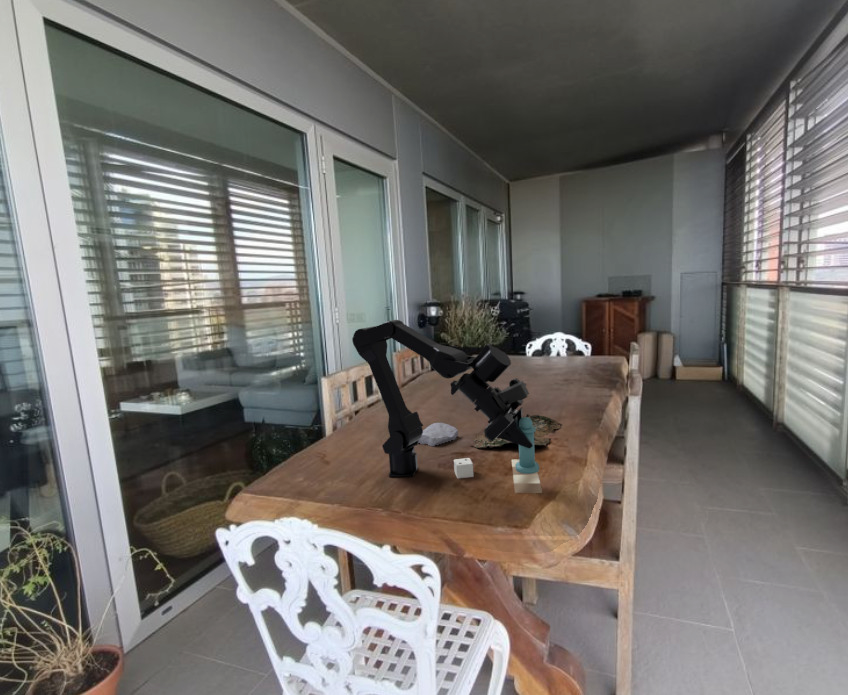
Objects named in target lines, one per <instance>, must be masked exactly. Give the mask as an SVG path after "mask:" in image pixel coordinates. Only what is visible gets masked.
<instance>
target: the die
mask: <svg viewBox="0 0 848 695" xmlns="http://www.w3.org/2000/svg"><path fill="white" fill-rule="evenodd" d="M453 468H454V474H455V476H456V478H457V479H466V478H474V464H473V461H472V460H471V458H470V457H465V458H457V459H456V458H454V459H453Z"/></svg>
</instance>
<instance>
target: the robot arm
mask: <svg viewBox="0 0 848 695" xmlns="http://www.w3.org/2000/svg"><path fill="white" fill-rule="evenodd" d="M391 339H393V340H394V341H395V342H397V343H398V344H400V345H402V346H404V347H406V348H407V349H409V350H410V351H412V352H413V353H415V354H417V355H418V356H421V357H422V358H424V359H425V360H426V361H427V362H428V363H429V365H430V366H431V368H432V369H433V370H434V371H435V372H436V373H438V375H440V376H441V377H442V378H444V379H452V378H455V377H458V376H460V375H461V376H460V378H458V380H452V381H451V382H450V394H451V395H452V396H453V395H455V394H456V393H457V392H458V391H460V392H461V393H462V394H463V395H464V396H465V397H466V398H467V400H469V401H470V402H471V403H472V404H473V405H474V406H475V407H474V410H475V411H476V412H477V413H478V412H479V411H480V412H481V413H482V414H483V415H484V416H485V417H486V418H487V419H488V421H487V423H488V424H487V425H486V427H485V428H484V433H483V434H485V437H486V438H487V439H488V440H489V441H490V442H492V441H493V440H494V439H495V438H498V439H499V438H501V439H504V440H507V441H510V442H513V443H512V444H516V445H518V446H519V445H521V446H524V447H526V448H529V449H530V448H531V447H532V446H533V444H532V443H531V442H530V440H529V439H528V438H527V436H526V435H525V434H524V433H523V431H522V430H521V429H520V428H519V421H520V419H521V418H523V417H524V416H523V411H524V410H523V409H524V408H523V407H520V408H519V406H522V405H523V403H524V400H525V399H526V398H528V395H529V394H530V392H529V390H528V388H527V383H525V382H524V381H523V380H519V379H518V378H513V379H511V380H510V381H509V383H508V384H509V385H508V386H507V387H506V388H504V389H500V388H499V387H496V386H494V388H493V387H492V386H491V384H490V383H494V382H495V381H497V379H498V378H499V377H500V376H501V375H502V374H503V373H504V372H505V371H506V370H507V369H508V368H509V367H511V364H512V361H511V359H510V357H509V356H508V354H507V353H506V352H504V351H502V350H500V349H499V348H497V347H494V346H493V345H492V344H491V343H488V344H485V345H484V346H483V347H482V349H481V351H480V352H479V353H478V354H477V355H476V356H471V355H468V354H467V353H466V352H464V351H463V350H460V349H458V348H454V347H453V346H447V345H443V344H440V343H437V342H436V341H435V340H434V341H433V340H432V339H430V338H428V337H427V336H425V335H424V334H422V333H421V332H418V331H417V330H415V329H413V328H411V327H410V326H408V325H407V324H405V323H404V322H403V321H401V320H399V319H393V320H388V321H385V322H383V323H382V324H379V325H375V326H369V327H364V328H359V329H357V330H355V332H354V333H353V335H352V338H351V340H352V344H353V346H354V348H355V350H356V352H357V353H358V355H359V356H360V358H361V359H363V360H364V361H365V362H366V363H367V364H368V366H369V368H370V371H371V373H372V376H373V378H374V380H375V384H376V387H377V390H378V391H379V393H380V396H381V399H382V402H383V404H384V406H385V409H386V411H387V414H388V421H387V422H388V423H387V429H388V430H387V431H388V434H389V438H388V439H387V440H386V441H385V442H384V443H383V444H382V446H381V448H382V449H383V451H384V454H387V455H388V461H389V462H388V464H389V473H388V477H391V478H393V477H399V478H400V477H408V478H409V477H414V476H415V474H416V472H417V471H418V468H419V464H418V463H419V462H418V453H417V452H416V451H415V447H416V446H418V445H419V444H418V441H419V439H420V438H421V436H422V434H423V430H424V429H423V427H424V424H423V422H422V421H421V419H420V417H419V413H418V411H414V412H412V411H410V409H408V407H407V406H406V404H405V403H406V402H405V401H404V400H405V399H404V398H403V395H402V392H401V390H400V388H399V385H398V383H397V380H396V378H395V375H394V372H393V370H392V368H391V365H390V362H389V360H388V358H387V355H388V354H387V353H388V342H387V341H388V340H391ZM471 369H472V371H471V372H470V373H467V371H469V370H471ZM488 382H490V383H488ZM518 408H519V409H518ZM534 440H535V437H534Z"/></svg>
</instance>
